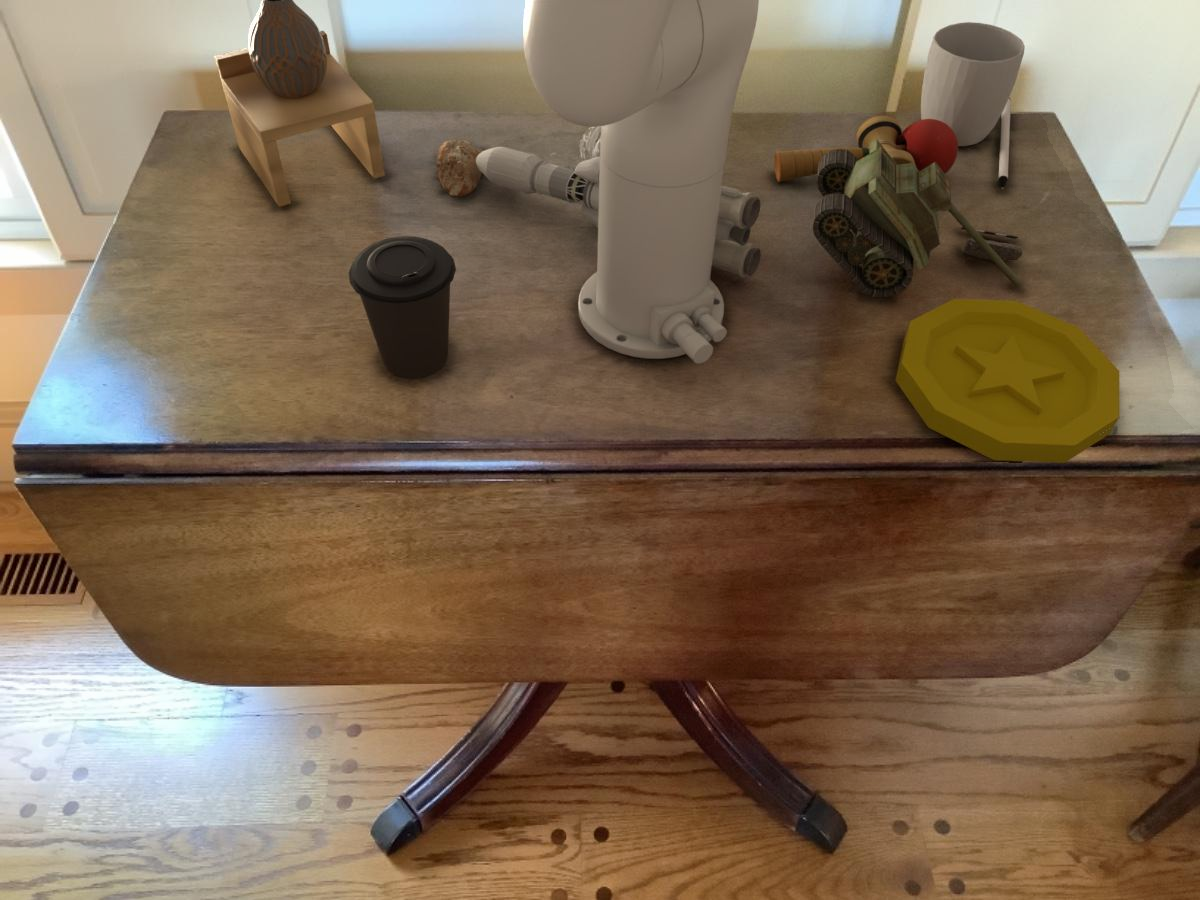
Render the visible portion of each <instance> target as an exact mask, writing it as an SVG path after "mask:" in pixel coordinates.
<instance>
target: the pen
mask: <svg viewBox="0 0 1200 900" xmlns="http://www.w3.org/2000/svg"><path fill="white" fill-rule="evenodd" d="M1011 108H1012V100H1011V98H1010V97H1009V99H1008V101H1007V103H1006V106H1005V108H1004V110H1003V112H1002V114H1001V116H1000V119H1001V120H1000V136H999V137H1000V138H999V157H998V161H999V162H998V179H997V180H998V183H999V186H1000V188H1001V189H1002V190H1004V189H1005V187H1006V185H1007V182H1008V181H1009V161H1010V160H1009V157H1010V131H1011V113H1012V111H1011Z"/></svg>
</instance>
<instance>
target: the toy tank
mask: <svg viewBox="0 0 1200 900" xmlns="http://www.w3.org/2000/svg"><path fill="white" fill-rule="evenodd" d="M816 185H817V189H818V192H819V193H820V194H821V196H822V197H821V198H820V199H819V200H818V201H817V202H816V205H814V210H813V211H814V213H813V224H812V231H813V235H814V237H815V239H816V240H817V242H818V243H819V244H820V246H821V247H823V249H824V250H825V251H826V252H827V253H828V255H829V256H830V257H831V259H833V261H834V262H835V263H836V264H837V265H838V266H839V268H841V270H843V272H844V273H845V274H846V275H847V277H848V278H849V279H850V280H851V282H853V284H855V286H856V287H857V288H858V289H859V290H860V292H861V293H862V294H864V295H866V296H869V297H871V298H877V299H884V298H891V297H894V296H896V295H899V294H901V293H902V292H903V291H905V290H906V289H907V288H908V287H909V285H911V283H912V281H913V278H914V263H915V266H916V269H917V271H920V270H922V269H924V268H925V267H927V264H928V262H929V261H930V255H931V251H933V250H934V249H936V248H937V247H938V246H940V245H941V238H940V237H941V236H940V235H941V234H940V221H939V220H940V219H939V212H940V211H941V212H947V211H948V212H949V213H950V215H951V216H952V217H953V218H954V219H955V220H956V222H958V224H959V225H960V226H961V228H962V227H963V228H964V229H965V230H964V231H965V232H967V234H968V235H969V236H970V237H971V238H972V239H974V240H975V241H976V243H977V244H978V245H979V246H980V247H981V248H982V249H983V251H984V252H985V253H986V254H987V255H988V256H989V257H990V258H991V260H990V261H992V262H993V263H994V264H995V266H997V268H998V269H999V270H1000V271H1001V273H1003V274H1004V276H1005V277H1006V278H1007V279H1008V280H1009V281H1010V282H1011V283H1012V284H1013V286H1015V287H1016V286H1019V285H1020V284H1021V279H1020V278H1019V277H1018V276H1017V275H1016V274H1015V273H1014V271H1012V269H1011V267H1009V266H1008V265H1007V264H1006V263H1005V261H1003V260H1002V259H1001V258H1000V257H999V256H998V255H997V254H996V252H995V251H994V250H993V249H992V248H991V247H990V246H989V244H988V243H987V242H986V241H985V240H986V239H984V237H983V236H982V235H981V233H979V232H977V231H976V230H977V229H976V228H975V227H974V226H973V225H972V224H971V223H970V221H969V220H968V219H967V218H966V217H965V216H964V215H963V214H962V212H961V211H960V210H959V209H958V208H957V207H956V205H955V204H953V202H952V191H951V185H950V179H949V178H948V176H947V175H946V173H945V174H944V173H943V171H942V170H941V169H940V167H939V166H938V165H937V163H936V162H934V163H932V164H931V165H929V166H927V167H926V168H924V169H922V170H921V171H919V170H918V169H917V168H916V166H915V165H914V164H913V163H910V164H900V165H897V164H896V163H895V161H894V160H893V159H892V158H891V156H890V155H889V154H888V153H887V151H886V150H885V149H884V147H883V146H882V145H881V144H880V142H879V141H878V140H877V139H875V140H874V141H872V142H871V143H870V154H869V155H867V156H865V157H863V158H861V159H860V160H858V159H857V158H856V157H855V156H854V154H852V153H851V152H850V151H848V150H844V149H835V150H831V151H829V152H827V153H826V154H825V155H824V156H823V157H822V158H821V160H820V162H819V167H818V174H817V179H816ZM975 229H976V230H975ZM855 236H856V237H855ZM854 237H855V239H854ZM854 240H855V242H854ZM861 265H862V266H861Z"/></svg>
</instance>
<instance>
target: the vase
mask: <svg viewBox="0 0 1200 900" xmlns="http://www.w3.org/2000/svg"><path fill="white" fill-rule="evenodd" d="M320 31H321V30H320V29H319V27H318V25H317V24H316V22H315V21H314V20H313V19H312V17H311V16H310V15H308V13H306V12H305V11H304V10H303V9H302V8H300V7H299V6H298V5H297V4H296V2H295V1H294V0H261V2H260V6H259V9H258V11H257V13H256V15H255V17H254V18H253V20H252V22H251V25H250V28H249V31H248V37H247V38H248V40H247V48H248V49H249V55H250V59H251V63H252V66H253V68H254V71H255V73H256V75H257V76H258V78H259V79H260V81H261V82H262V83H263V85H264V86H265V87H267V88H268V89H269V90H270V91H272V92H273V93H275V94H277V95H278V96H281V97H284V98H301V97H305V96H308V95H310V94H312V93H313V92H314V91H315V90H316V89H317V88H318V87H319V86H320V84H321V83H322V81H323V79H324V76H325V73H326V67H327V55H326V48H325V44H324V40H323V38H322V35H321V33H320Z"/></svg>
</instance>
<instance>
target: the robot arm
mask: <svg viewBox="0 0 1200 900" xmlns="http://www.w3.org/2000/svg"><path fill="white" fill-rule="evenodd" d="M759 2H760V1H759V0H525V6H524V13H523V26H522V29H523V30H522V35H523V36H522V41H523V52H524V59H525V62H526V67H527V71H528V73H529V77H530V79H531V82H532V84H533V86H534V88H535V90H536V92H537V93H538V95H539V97H540V98H541V99H542V101H543V103H544V104H545V105H546V106H547V107H548V108H549V109H550V110H551V111H552V112H553V113H554V114H556V115H557V116H558V117H560V118H561V119H563V120H565V121H566V122H569V123H572V124H575V125H579V126H582V127H589V128H590V127H598V126H601V146H600V171H599V217H598V227H597V262H596V264H597V265H596V266H597V267H596V268H597V269H596V271H595V272H594V273H593V274H592V275H591V276H589V277H588V278H587V279H586V281H585V282H584V284H583V285H582V286H581V289H580V292H579V295H578V300H577V301H578V302H577V303H578V304H577V305H578V306H577V307H578V317H579V320H580V322H581V325H582V326H583V328H584V329H585V331H586V332H587V333H588V335H589V336H591V337H592V338H593V339H594V340H595V341H596V342H597V343H599V344H601V345H602V346H603V347H605V348H607V349H609V350H612V351H614V352H616V353H619V354H622V355H625V356H629V357H632V358H640V359H648V360H652V359H653V360H660V359H661V360H662V359H670V358H676V357H677V358H678V357H680V356H683V355H686V356H687V357H688V358H689V359H691V360H692V362H693V363H695V364H697V365H701V364H704V363H706V362H707V361H708V360H709V359H710V358H711V356H712V355H713V353H714V346H713V344H711V343H710V342H711V341H713V342H715V343H719V342H721V341H723V340H724V339H725V337H726V336H727V334H728V330H727V329H726V327H724V325H722V324H723V319H724V315H725V302H724V298H723V295H722V293H721V291H720V290H719V287H718V286H717V285H716V284H715V283H714V282H713V281H712V280H711V273H712V267H713V266H712V259H713V251H714V243H715V236H716V228H717V220H718V212H719V205H720V197H721V189H722V185H723V181H724V174H725V173H724V172H725V165H726V160H727V152H728V145H729V138H730V131H731V126H732V125H731V123H732V118H733V114H734V108H735V103H736V98H737V93H738V90H739V86H740V81H741V78H742V75H743V72H744V68H745V65H746V63H747V59H748V55H749V52H750V49H751V46H752V42H753V38H754V36H755V35H754V34H755V32H756V31H755V30H756V26H757V21H758V13H759Z"/></svg>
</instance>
